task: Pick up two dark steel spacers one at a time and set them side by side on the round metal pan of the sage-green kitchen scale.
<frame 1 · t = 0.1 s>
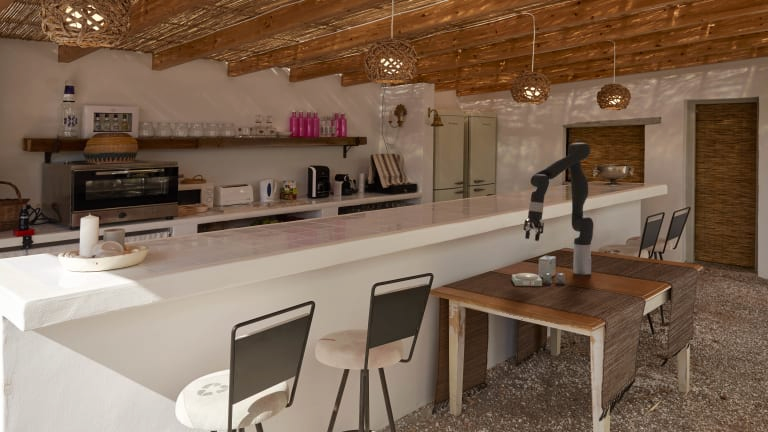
hand: (531, 239, 325), 22 cm above the table, tool pointing down, fingers open, 8 cm apart
light bulb box: (547, 276, 336), on the table
spacer 2: (547, 283, 318), on the table
spacer 1: (560, 283, 318), on the table
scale: (526, 282, 320), on the table
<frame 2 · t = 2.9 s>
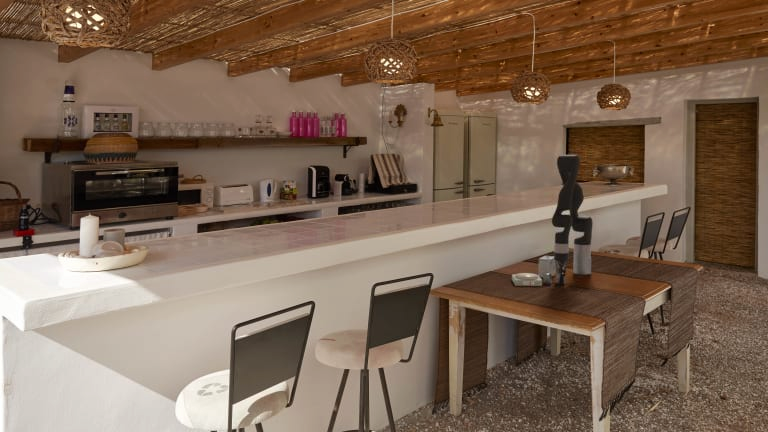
hand: (560, 282, 318), 0 cm above the table, tool pointing down, fingers closed on spacer 1, 4 cm apart
spacer 1: (560, 283, 318), on the table, touching gripper
everything else where it was.
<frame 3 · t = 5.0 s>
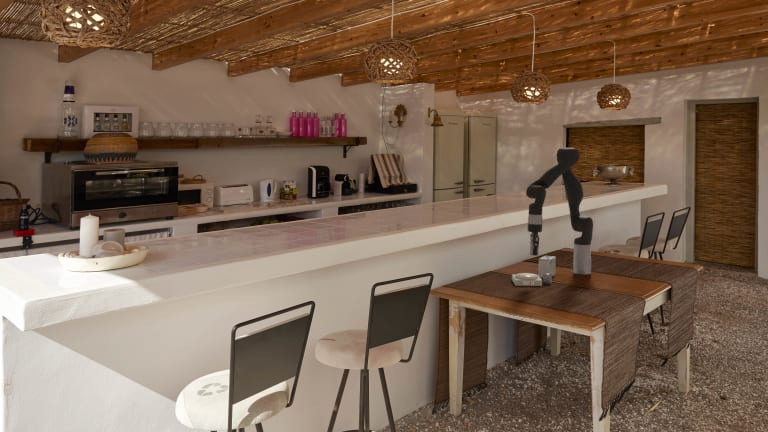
hand: (534, 254, 317), 16 cm above the table, tool pointing down, fingers closed on spacer 1, 4 cm apart
spacer 1: (534, 254, 317), point 15 cm above the table, touching gripper
everything else where it was.
when the fingers open (5 cm above the table, at t = 7.3 s): spacer 1 stays where it is, resting on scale.
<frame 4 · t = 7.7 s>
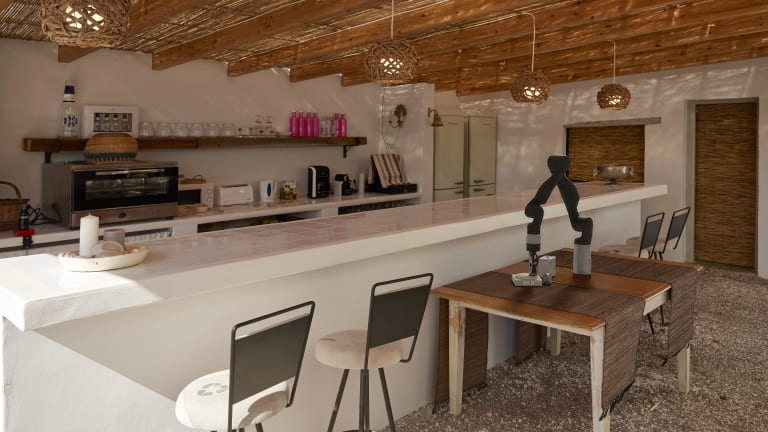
hand: (532, 271, 319), 6 cm above the table, tool pointing down, fingers open, 8 cm apart
spacer 1: (532, 275, 319), point 4 cm above the table, touching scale
everything else where it was.
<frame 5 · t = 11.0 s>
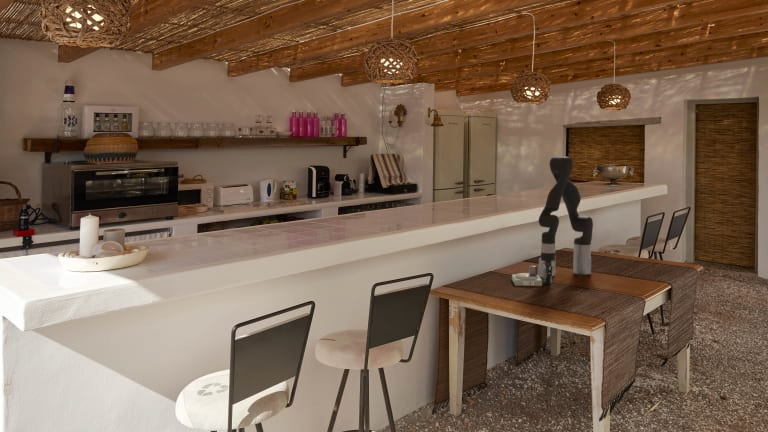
hand: (547, 282, 318), 0 cm above the table, tool pointing down, fingers closed on spacer 2, 4 cm apart
spacer 2: (547, 283, 318), on the table, touching gripper
everything else where it was.
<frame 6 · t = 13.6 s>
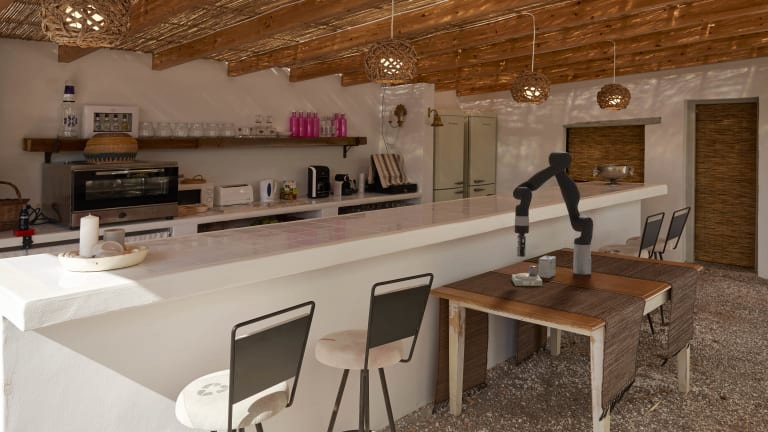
hand: (521, 255, 318), 15 cm above the table, tool pointing down, fingers closed on spacer 2, 4 cm apart
spacer 2: (521, 256, 318), point 15 cm above the table, touching gripper
everything else where it was.
when the fingers open (5 cm above the table, at t = 15.7 s): spacer 2 stays where it is, resting on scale.
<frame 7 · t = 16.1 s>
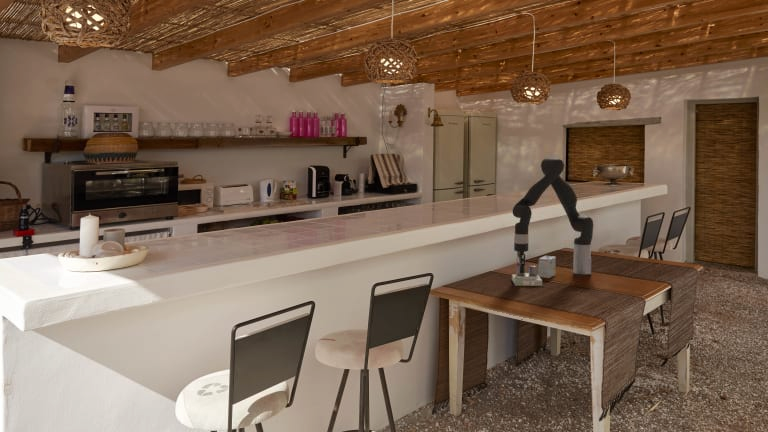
hand: (520, 271, 319), 6 cm above the table, tool pointing down, fingers open, 8 cm apart
spacer 2: (520, 275, 319), point 4 cm above the table, touching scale
everything else where it was.
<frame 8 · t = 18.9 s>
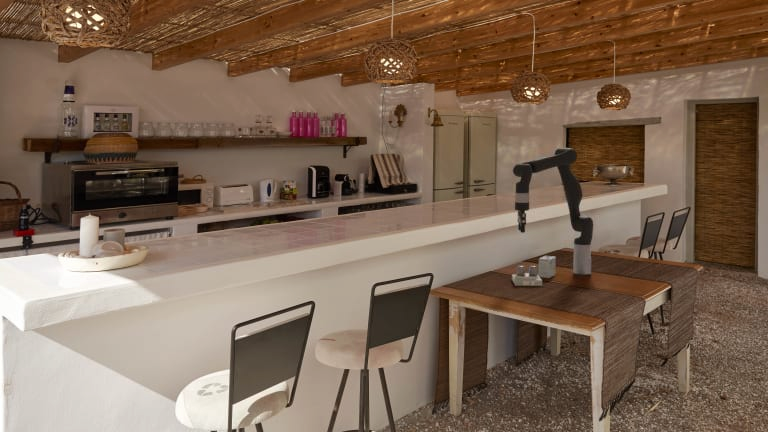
hand: (521, 231, 317), 28 cm above the table, tool pointing down, fingers open, 8 cm apart
nothing on the table moved.
at the end: spacer 1 inside the target area on the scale (0.0 cm from its centre), point 4.0 cm above the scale's base; spacer 2 inside the target area on the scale (0.0 cm from its centre), point 4.0 cm above the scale's base; spacer 2 tilted 0° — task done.
